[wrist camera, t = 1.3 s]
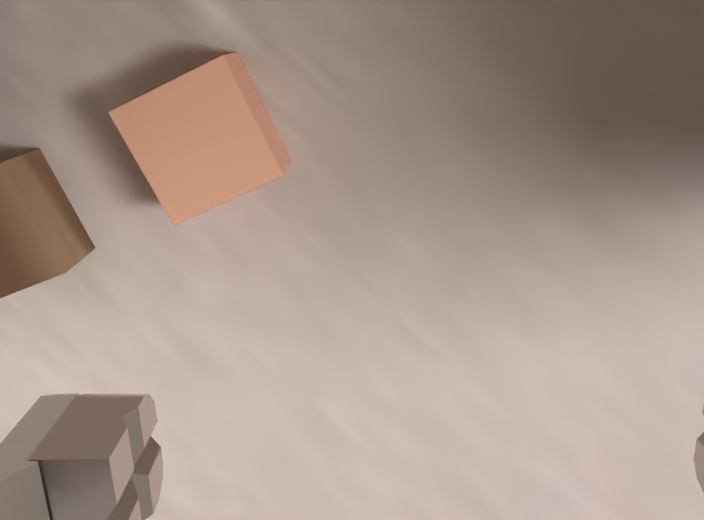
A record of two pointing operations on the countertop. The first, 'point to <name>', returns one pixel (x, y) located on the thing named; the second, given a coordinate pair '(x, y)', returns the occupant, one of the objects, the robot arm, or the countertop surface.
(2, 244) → the base block
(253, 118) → the terracotta block
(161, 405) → the countertop surface
